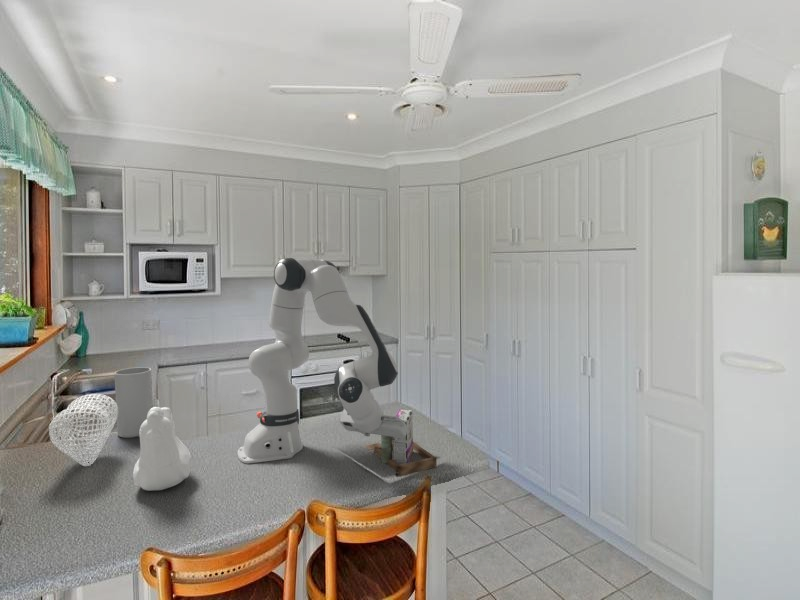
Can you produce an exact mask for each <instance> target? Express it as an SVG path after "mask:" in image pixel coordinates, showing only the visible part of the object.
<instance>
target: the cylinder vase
mask: <svg viewBox="0 0 800 600" xmlns="http://www.w3.org/2000/svg"><path fill="white" fill-rule="evenodd" d="M113 374H114V393H115V402H116V403H117V406H118V416H117V420H116V427H117V436H118V437H120V438H125V439H129V438H130V439H131V438H133V439H134V438H138V437H139V438H140V435H139V431H140V427H141V425H142V423H143V422H144V421H145V420H146V419H147V414H148V412H149V410H150V409H151V408H153V407H154V406H153V405H154V403H153V402H154V401H153V385H152V384H153V383H152V380H153V379H152V368H150V367H145V366H144V367H143V366H142V367H141V366H140V367H137V366H136V367H129V368H123V369H119V370H117V371H115V372H114V373H113Z"/></svg>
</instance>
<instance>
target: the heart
mask: <svg viewBox="0 0 800 600" xmlns="http://www.w3.org/2000/svg"><path fill="white" fill-rule="evenodd" d="M106 404H107V405H106ZM87 410H88V411H87ZM77 414H78V415H77ZM91 415H92V416H91ZM90 416H91V417H90ZM117 416H118V406H117V403H116V400H114V399H113V397H110V396H108V395H105V394H103V393H89V394H84V395H81V396H78V397H77V398H75V399H74V400H73V401H71V403H69V405H68V406H67V408H65V409H63V410H62V411H60V412H59V413H57V414H56V415H55V416H54V417H53V419H52V420H51V421H50V423H49V425H48V436H49V439H50V441H51V443H52V444H53V445H54V447H56V448H57V449H58V450H59V451H61V452H62V453H64V454H65V455H67V456H68V457H70V458H71V459H72V460H74V461H75V462H76V463H78V464H79V465H80V466H82V467H90V466H91V464H92V465H93V464H94V463H95V461H96V460H97V458H98V456H99V455H100V453H101V451H102V450H103V448H104V445H105V444H106V442H107V440H108V438H109V436H110V435H111V432H112V430H113V429H114V426H115V424H116V423H117ZM74 420H75V421H74ZM90 421H92V423H90ZM95 421H96V423H95ZM90 426H91V429H89V428H90ZM74 427H75V428H74ZM94 427H95V428H94ZM89 433H90V434H89ZM75 435H76V436H75ZM80 441H81V443H80ZM76 442H77V443H76ZM88 462H89V463H88Z"/></svg>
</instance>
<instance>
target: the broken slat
mask: <svg viewBox="0 0 800 600" xmlns="http://www.w3.org/2000/svg"><path fill="white" fill-rule="evenodd" d="M379 446H381V442H378V443H377V442H376V443H373V444H372V443H371V444H368V445H364V448H366V449H367V450H368V451H371V450H374V448H375V447H379Z"/></svg>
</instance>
